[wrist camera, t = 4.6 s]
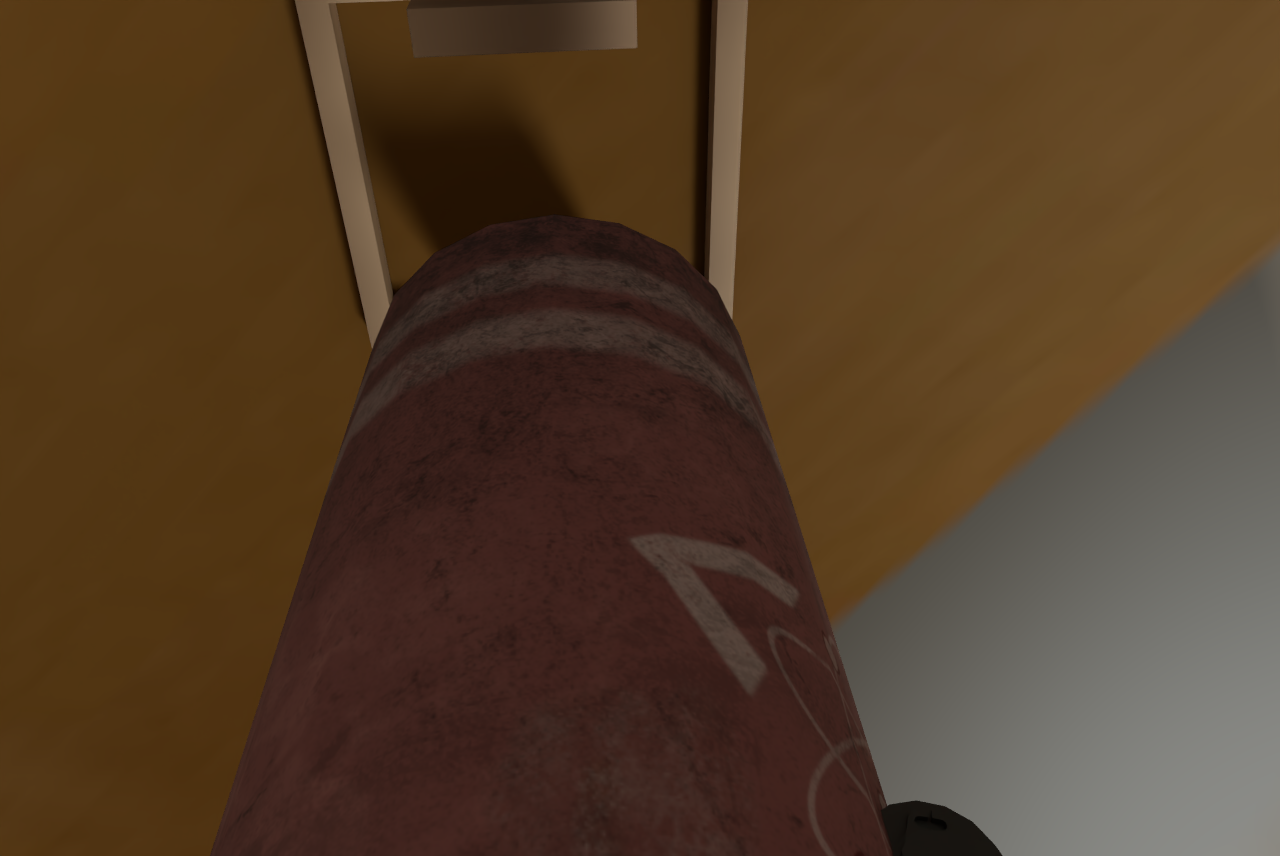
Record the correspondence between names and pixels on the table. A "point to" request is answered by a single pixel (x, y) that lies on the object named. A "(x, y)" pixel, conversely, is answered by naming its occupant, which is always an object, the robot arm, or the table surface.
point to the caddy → (517, 23)
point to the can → (556, 587)
